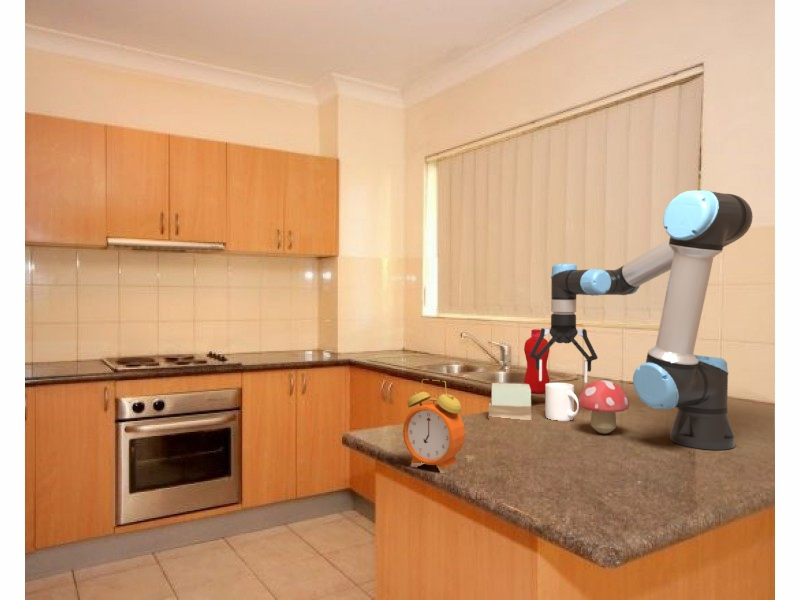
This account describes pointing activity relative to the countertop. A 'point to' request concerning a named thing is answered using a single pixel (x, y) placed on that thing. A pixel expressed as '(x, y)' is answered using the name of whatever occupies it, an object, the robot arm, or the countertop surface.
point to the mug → (560, 401)
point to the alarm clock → (434, 429)
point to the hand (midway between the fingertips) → (562, 381)
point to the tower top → (511, 394)
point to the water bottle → (531, 371)
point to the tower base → (510, 411)
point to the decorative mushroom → (603, 404)
